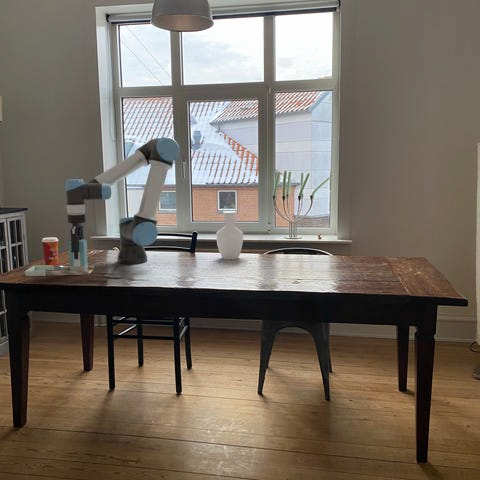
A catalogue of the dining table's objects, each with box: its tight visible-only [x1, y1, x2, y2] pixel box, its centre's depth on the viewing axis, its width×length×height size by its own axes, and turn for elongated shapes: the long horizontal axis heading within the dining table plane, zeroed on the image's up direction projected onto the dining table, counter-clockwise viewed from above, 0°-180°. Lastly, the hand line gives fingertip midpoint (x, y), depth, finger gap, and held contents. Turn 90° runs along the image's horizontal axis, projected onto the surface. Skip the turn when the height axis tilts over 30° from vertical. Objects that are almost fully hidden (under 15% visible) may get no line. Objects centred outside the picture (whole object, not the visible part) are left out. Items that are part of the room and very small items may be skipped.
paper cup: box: [41, 237, 59, 267], centre depth 220 cm, size 8×8×14 cm
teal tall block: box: [68, 239, 89, 271], centre depth 204 cm, size 6×6×14 cm
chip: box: [53, 264, 64, 271], centre depth 206 cm, size 4×4×2 cm
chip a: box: [60, 267, 70, 271], centre depth 202 cm, size 4×4×2 cm
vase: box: [215, 210, 244, 260], centre depth 240 cm, size 14×14×25 cm
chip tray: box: [24, 264, 54, 277], centre depth 203 cm, size 8×12×3 cm
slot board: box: [46, 265, 95, 276], centre depth 205 cm, size 18×11×2 cm, turn 96°
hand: (79, 264), depth 204 cm, fingers closed on teal tall block, 6 cm apart
